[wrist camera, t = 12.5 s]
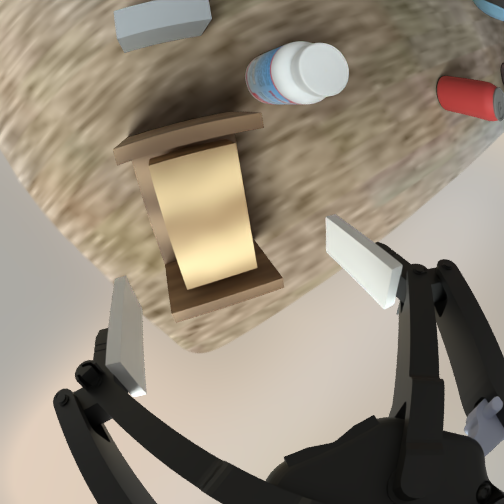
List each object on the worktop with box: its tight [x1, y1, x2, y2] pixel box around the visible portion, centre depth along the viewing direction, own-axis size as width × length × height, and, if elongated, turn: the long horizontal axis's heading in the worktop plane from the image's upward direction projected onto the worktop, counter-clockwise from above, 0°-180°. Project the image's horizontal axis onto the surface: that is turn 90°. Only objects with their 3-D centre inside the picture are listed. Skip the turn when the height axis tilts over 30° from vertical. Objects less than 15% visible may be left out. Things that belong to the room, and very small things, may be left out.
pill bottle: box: [245, 41, 349, 104], centre depth 22 cm, size 6×6×11 cm
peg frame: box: [113, 112, 284, 323], centre depth 26 cm, size 16×11×10 cm
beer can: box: [437, 76, 504, 121], centre depth 29 cm, size 7×7×12 cm
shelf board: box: [148, 139, 257, 290], centre depth 25 cm, size 12×7×4 cm, turn 9°
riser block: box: [114, 0, 212, 53], centre depth 18 cm, size 3×8×6 cm, turn 99°
